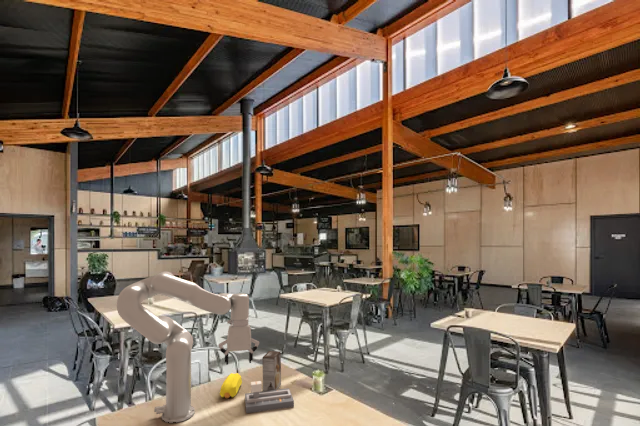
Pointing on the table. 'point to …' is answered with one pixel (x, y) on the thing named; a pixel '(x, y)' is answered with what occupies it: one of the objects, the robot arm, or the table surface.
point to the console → (269, 400)
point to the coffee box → (271, 370)
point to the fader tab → (256, 388)
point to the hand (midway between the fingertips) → (238, 362)
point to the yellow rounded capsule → (231, 385)
